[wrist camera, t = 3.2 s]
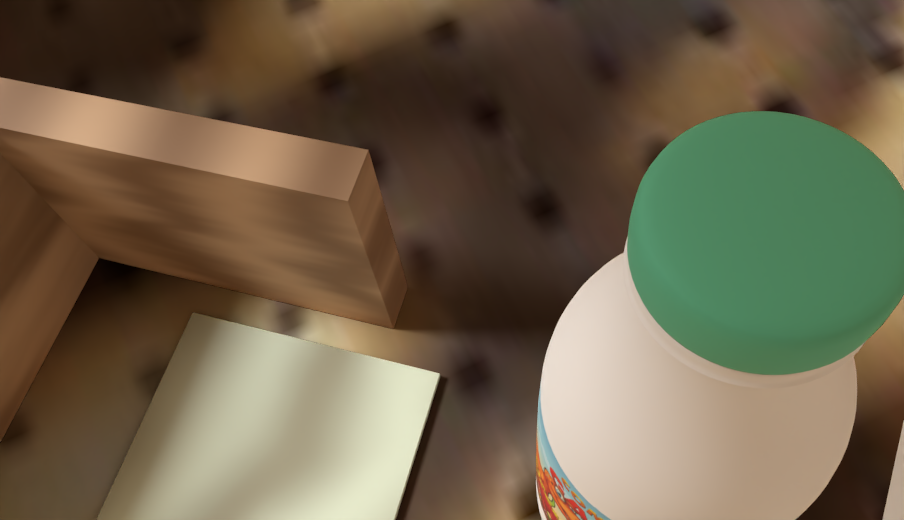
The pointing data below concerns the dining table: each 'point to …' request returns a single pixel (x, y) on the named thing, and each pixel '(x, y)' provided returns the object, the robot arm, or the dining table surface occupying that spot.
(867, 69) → the dining table surface
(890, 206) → the milk bottle
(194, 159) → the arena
